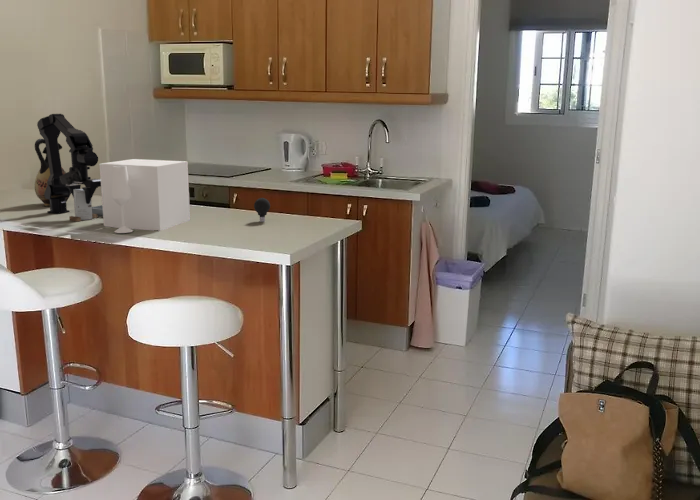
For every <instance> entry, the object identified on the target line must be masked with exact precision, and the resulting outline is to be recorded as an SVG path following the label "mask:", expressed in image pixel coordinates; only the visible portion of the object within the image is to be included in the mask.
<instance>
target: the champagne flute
mask: <svg viewBox="0 0 700 500" xmlns="http://www.w3.org/2000/svg"><path fill="white" fill-rule="evenodd" d="M112 198H113V200H114V201H115V202H116V203H117V204H119V205H120V206H121V221H122V226H121V227H120V228H117V229H116V230H114V231H113V232H114V233H115V234H125V233H133V231H134V229H129V228H128V227H126V226H125V216H124V205H125V204H126V203H127V202H128V201H129V200H130V198H131V192H130V185H129V179H128V173H127V166H113V178H112Z"/></svg>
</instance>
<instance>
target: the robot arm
mask: <svg viewBox="0 0 700 500" xmlns="http://www.w3.org/2000/svg"><path fill="white" fill-rule="evenodd" d="M36 124H37V125H36V126H37V129H38V131H39V135H40V136H41V137H42V139H44V140H45V143H46V144H45V147H46V150H47V156H48V163H49V169H50V176H49V179H48V181H47V188H46V190H45V193H44V195H45V198H46V199H49V202H50V206H49V210H48V211H47V213H49V214H55V215H56V214H63V213H69V212H70V210H67V208H68V207H67V202H66V200H65V198H68V199H70V197H69V196H72V198H73V199H74V191H73V190H74V189H83V190H84V191H85V198H86V203H87V204H89V203H90V201H91V202H92V199H93V196H94V193H96V190H97V189H98V188H99V187H100V188H101V178H91V176H89V170H90V169H91V167H95V166H96V165H97V164H98V162H99V156H98V155H97V153H96V152H94V147H93V146H94V145H93V143H92V141H91V140H90V137H89V136H88V134H87V133H86V132H85V131H83V130H81V129H77V128H76V127H74V126H73V125H72V123H70V122H69V120H67V118H65V115H64V114H62V113H51V114H49V115H47V116H43V117H42V118H40V119H39V120H38V121H37V123H36ZM61 133H62V135H63V136H64V137H65V142H66V144H67V146H68V147H69V148H70V149H69V150H68V151H69V153H70V158H71V159H70V160H71V166H70V167H69V170H68V172H66V173H65V174H63V173H62V168H63V166H62V161H61V153H60V150H59V146H58V143H59V140H58V139H59V137H60V135H61ZM82 185H84V187H82ZM70 191H71V195H70ZM51 195H52V196H51ZM55 195H58V196H55Z"/></svg>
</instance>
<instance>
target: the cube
mask: <svg viewBox="0 0 700 500" xmlns="http://www.w3.org/2000/svg"><path fill="white" fill-rule="evenodd" d="M113 166H127V173H128V179H129V185H130V192H131V198H130V200H129V201H128V202H127V203H126V204H125V205H124V216H125V226H126V227H128V228H129V229H131V230H142V231H144V230H145V231H154V230H158V232H162V231H164V230H167V229H170V228H173V227H175V225H176V226H178V225H181V224H184V223H187V222H189V221H191V213H190V212H191V210H190V188H189V187H190V185H189V183H190V182H189V169H188V168H189V164H188V160H186V161H184V160H163V159H141V158H132V159H124V160H117V161H111V162H110V161H109V162H108V161H107V162H102V163H99V173H100V175H99V176H100V177H99V179H101V186H100V188H101V191H100V192H101V203H102V204H101V205H102V206H103V217H102V218H103V219H102V220H103V226H104V227H110V228H113V229H114V228H117V229H119V228H120V227H121V226H122V221H121V206H120V205H119V204H117V203H116V202H115V201H114V200H113V198H112V178H113ZM161 230H162V231H161Z"/></svg>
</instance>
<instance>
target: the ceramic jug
mask: <svg viewBox="0 0 700 500" xmlns="http://www.w3.org/2000/svg"><path fill="white" fill-rule="evenodd" d="M42 144H44V145H46V143H45V140H44V138H39V139H38V138H37V139H36V140H35V142H34V150H35V153H36V154H37V157H38V160H39V162H40V168H39V170H38V172H37V174H36V176H35V179H34V192H35V196H36V197H37V198H38V199H39V200H40V201H41V202H42V204H43V206H46V207H47V206H49V207H50V202H49V199H46V198H45V195H44V193H45V190H46V188H47V181H48V179H49V176H50V169H49V163H48V156H47V150H46V146H45V147H44V148H43V150H42V151H41V149H40V146H41V145H42ZM58 146H59V151H60V150H62V149H63V146H62V145H61V144H60V143H59V142H58ZM43 154H45V158H44V156H43ZM62 173H63V174H65V173H67V172H66V171H65V169H64V168H63V167H62ZM51 196H52V195H51ZM55 196H58V195H55ZM70 196H72V193H71V191H70ZM70 196H69V198H70ZM69 198H65V200H66V203H67V202H68V199H69Z"/></svg>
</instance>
